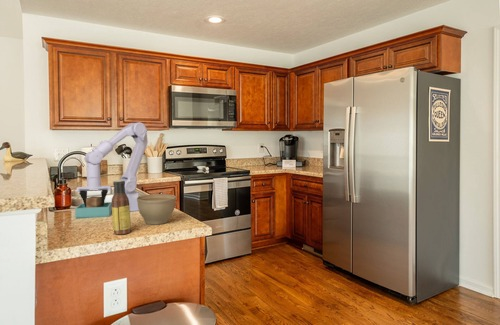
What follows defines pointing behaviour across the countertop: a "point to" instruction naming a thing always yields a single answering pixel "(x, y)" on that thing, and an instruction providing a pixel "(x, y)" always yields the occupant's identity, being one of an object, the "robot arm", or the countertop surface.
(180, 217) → the countertop surface
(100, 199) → the walnut block
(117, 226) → the sauce bottle
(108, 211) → the teal bin
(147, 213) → the planter bowl
